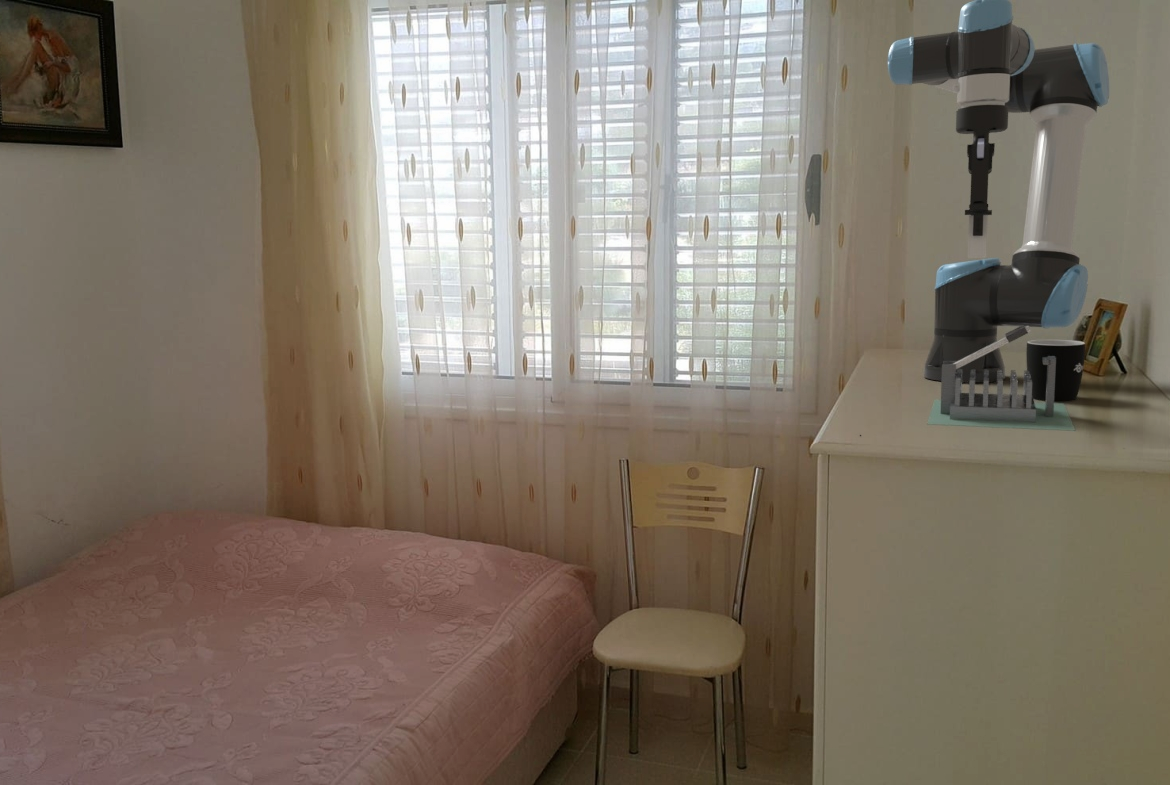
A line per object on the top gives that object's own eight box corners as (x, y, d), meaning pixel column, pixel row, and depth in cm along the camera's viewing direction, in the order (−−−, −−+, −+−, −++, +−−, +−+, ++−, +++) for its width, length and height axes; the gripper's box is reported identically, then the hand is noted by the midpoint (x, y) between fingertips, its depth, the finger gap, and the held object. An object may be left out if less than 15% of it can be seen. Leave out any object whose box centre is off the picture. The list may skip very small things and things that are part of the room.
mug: (1079, 407, 166) (1082, 345, 164) (1020, 404, 170) (1022, 344, 169) (1087, 397, 176) (1090, 338, 174) (1031, 393, 180) (1034, 337, 179)
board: (934, 402, 174) (934, 399, 173) (1063, 407, 166) (1063, 403, 166) (926, 428, 151) (927, 424, 151) (1075, 434, 144) (1075, 430, 144)
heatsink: (942, 404, 168) (944, 350, 167) (1050, 408, 162) (1052, 352, 161) (939, 418, 155) (940, 360, 154) (1055, 423, 150) (1058, 362, 148)
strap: (948, 372, 163) (944, 365, 163) (1031, 330, 158) (1026, 322, 158) (946, 376, 158) (942, 369, 158) (1032, 333, 153) (1027, 325, 153)
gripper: (958, 113, 167) (953, 256, 170) (954, 100, 149) (949, 259, 153) (1007, 110, 164) (1001, 255, 167) (1009, 97, 147) (1003, 258, 150)
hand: (977, 256), depth 160 cm, fingers open, 6 cm apart
